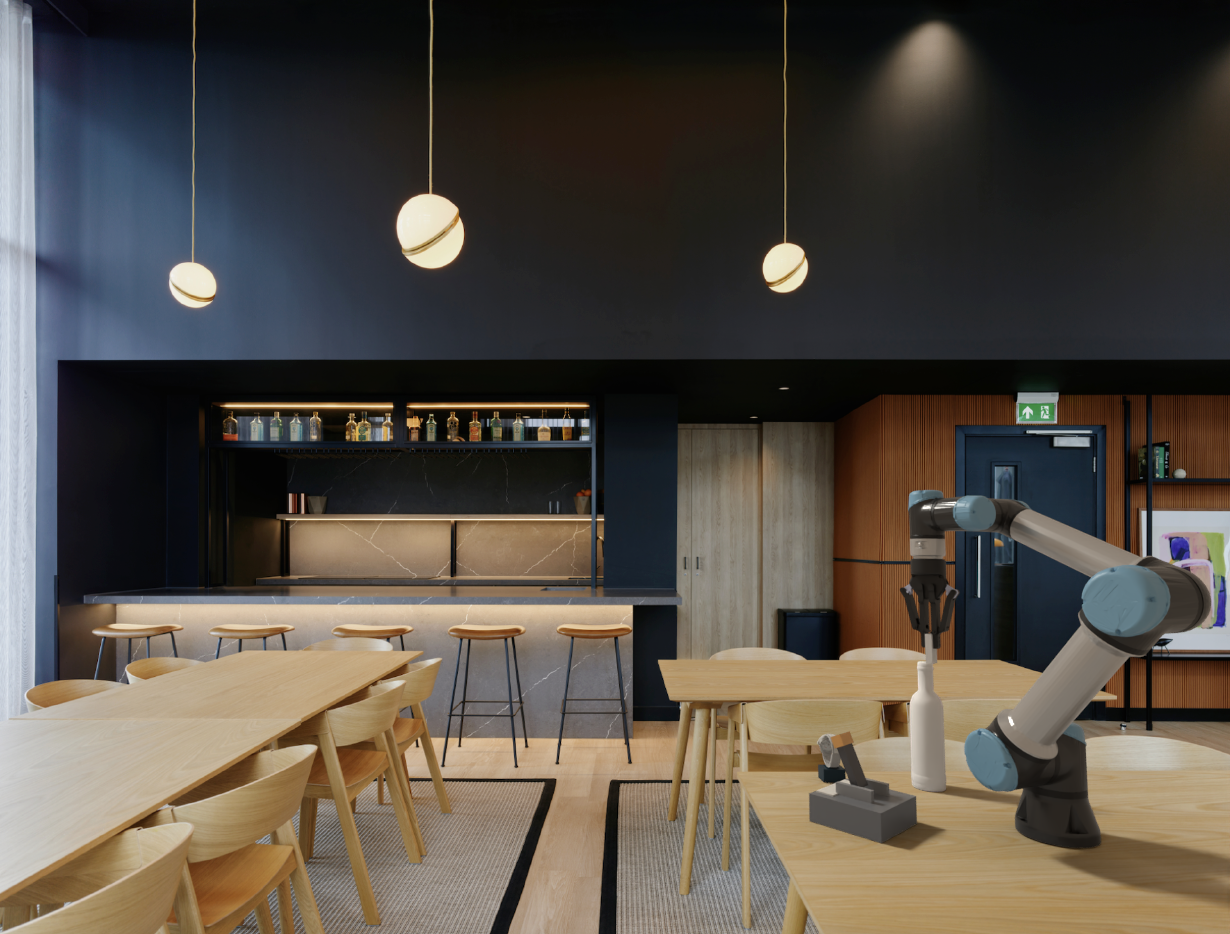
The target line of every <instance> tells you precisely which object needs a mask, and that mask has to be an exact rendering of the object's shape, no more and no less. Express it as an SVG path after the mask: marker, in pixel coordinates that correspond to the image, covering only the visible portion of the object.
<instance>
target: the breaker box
mask: <svg viewBox="0 0 1230 934" xmlns="http://www.w3.org/2000/svg"><path fill="white" fill-rule="evenodd" d="M865 778H866V780H867V783H868V785H867V786H865V787H859V786H855V785H851V784H850V782H849V779H848V778H846V779H844V780H842V781H838V782H836V783H832V784H829V785H826V786H824V787H822V788H819V789H817V790H815V791H814V790H813V791H811V792H810V793H808V803H809V806H808V807H809V809H808V810H809V811H808V812H809V818H808V819H809V822H811V823H815V824H818V825H820V826H825V827H827V828H828V827H829V828H831V829H835V830H837V831H840V832H844V833H847V834H851V835H854V836H857V837H859V838H860V837H861V838H863V839H866V840H869V841H873V842H875V843H876V842H877V843H879V844H883V843H885V842H886V841H888V840H890V839H893V837H896V836H897V835H899V834H901V833H902V832H904V831H906V830H908V829H910V828H912V827H913V826H915V825H917V824H918V813H917V812H918V811H917V795H913V794H910V793H906V792H902V791H897V790H894V789H890V783H887V782H884V781H880V780H876V779H873V778H872V779H871V778H868V777H865Z"/></svg>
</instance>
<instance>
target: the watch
mask: <svg viewBox="0 0 1230 934" xmlns="http://www.w3.org/2000/svg"><path fill="white" fill-rule="evenodd" d="M836 735H837V734H833V733H825V734H822V735H821V736H820V737H819V738H818V740H817V741H816V745H818V746H819V750H820V753H821V754H822V759H823V762H824V764H817V775H818V777H817V778H819V780H821V781H822V782H823V783H826V784H827V783H832V784H834V783H836V782H838V781H842V780H844V779H847V777H846V776H847V774H846V771H845V769H844V766H843V765H840V764H841V758H840V755H839V753H838V750H837V748H834V745H833V743H832V740H831V737H833V736H836Z"/></svg>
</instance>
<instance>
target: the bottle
mask: <svg viewBox="0 0 1230 934" xmlns="http://www.w3.org/2000/svg"><path fill="white" fill-rule="evenodd" d="M916 663H917V666H916V670H917V691H915V692H914V693H913V694H912V696H911V698H910V702H909V721H910V722H909V728H910V729H909V730H910V731H909V732H910V764H911V766H910V768H911V770H910V780H911V785H912V787H914V788H915V789H917V790H920V791H925V792H930V793H931V792H932V793H941V792H944V791H946V790H947V774H946V770H947V769H946V748H945V747H946V746H945V744H946V743H945V718H944V717H945V716H944V703H943V701H942V699H941V697H940V696H939V694H937V692H935V690H934V686H935V685H934V683H935V682H934V670H935V668H934V664H927V663H926V660H924V661H923V660H921V661H920V660H918V661H917V662H916Z"/></svg>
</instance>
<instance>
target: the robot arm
mask: <svg viewBox="0 0 1230 934" xmlns="http://www.w3.org/2000/svg"><path fill="white" fill-rule="evenodd" d="M908 495H909V496H908V507H907V510H908V523H909V525H908V526H909V553H910V554H909V555H910V556H911V557H912V558H911V560H910V580H909V584H908V583H907V585H906V586H904V587H903V586H902V587H900V588H899V592H900V593H901V595H902V597H903V599H904V601H905V607H906V610H907V612H908V613H907V614H908V618H909V621H910V625H911V628H912V630H914V631H915V630H916V631H918V632H919V633H920V645H921V648H924V649H925V650H924V651H925V655H924V656H925V661H926V663H927V664H933V665H934V664H935V665H936V664H938V650H939V649H941V647H942V643H941V642H942V641H941V639H942V638H941V634H942V633H945V632H949V630H950V626H951V622H952V617H953V613H954V607H955V603H956V600H957V598H958V596H959V595H960V593H961V592H960V590H959V589H957V588H956V589H955V588H954V587H952V586H951V585H950V582H949V581H948V579H947V561H946V559H944V557H946V556H947V553H946V532H981V533H982V532H985V533H998V534H1001V535H1003V536H1005V537H1007V538H1009V539H1012V540H1014V541H1016V542H1019V543H1020V544H1023V545H1025V547H1028V548H1030V549H1032V550H1034V551H1036V552H1039V553H1041V554H1042V555H1045V556H1047V557H1049V558H1050V559H1053V560H1055V561H1056V562H1058V563H1060V564H1063V565H1065V566H1068V567H1069V568H1071V569H1073V570H1075V571H1077V572H1079V573H1082V574H1083V575H1085V576H1088V577H1089V578H1090V579H1088V581H1087V582H1086V583H1085V585H1084V587H1083V590H1082V591H1081V592H1082V593H1081V600H1082V603H1083V604H1081V608H1080V610H1079V612H1078V613H1077V614H1078V615H1077V616H1078V619H1079V623H1080V626H1079V627H1078V628H1077V630H1076V631H1075V632H1074V633H1073V634H1072V636H1071V637H1070V638H1069V640H1067V642H1066V644H1065V645H1064V646H1063V647H1062V648H1061V649H1060V651H1059V652H1058V653H1057V655H1055V657H1054V659H1052V660H1051V662H1050V663H1049V665H1048V666H1047V667H1046V668H1045V670H1043V672H1042V673H1041V674H1040V676H1039V677H1038V678H1037V679H1036V680H1035V682H1034V683H1033V684H1032V686H1031V687H1030V688H1029V689H1028V691H1027V692H1026V693H1025V694H1024V696H1023V697H1022V698H1021V699H1020V700H1019V702H1018V703H1017V704H1016V705H1015V707H1014V708H1004V709H1002V710H1001V711H1000V712H999V713H998V714H997V715H996V716H995V717H994V719H992V721H991V723H990V724H989V725H988V726H987V727H985V728H981V727H979V728H978V729H975V730H972V731H971V732H970V733H968V735H967V737H966V738H965V741H964V746H963V751H964V755H965V758H966V760H965V761H966V764H967V767H968V769H969V771H970V772H971V774H972V776H973V777H974V778H975V779H976V781H977V782H978V783H979V784H980V785H981V786H984V788H986V789H988V790H990V791H993V792H998V793H999V792H1005V793H1006V792H1007V793H1008V792H1013V791H1017V790H1022V792H1021V795H1020V798H1019V801H1018V805H1017V808H1016V810H1015V814H1014V827H1015V830H1016V831H1017V832H1018V833H1020V834H1022V835H1023V836H1025V837H1027V838H1030V839H1033V840H1034V841H1037V842H1040V843H1044V844H1048V845H1053V846H1057V847H1064V848H1071V849H1072V848H1073V849H1090V848H1091V849H1092V848H1095V847H1098V846H1100V845H1101V843H1102V837H1101V835H1102V834H1101V833H1102V832H1101V829H1100V826H1099V824H1098V821H1097V819H1096V816H1095V813H1094V811H1093V808H1092V806H1091V803H1090V800H1089V799H1090V798H1089V787H1088V786H1089V784H1088V766H1087V741H1086V736H1085V735H1086V734H1085V730H1084V729H1083V727H1082V726H1081V725H1080V724H1078V723H1075V722H1074V721H1075V720H1076V718H1078V717H1079V715H1081V713H1082V712H1083V711H1084V709H1085V708H1086V707H1088V705H1089V704H1090V703H1091V701H1093V699H1094V698H1095V697H1096V696H1097V694H1099V692H1101V690H1102V689H1103V688H1104V686H1105V685H1107V683H1108V682H1109V681H1110V679H1111V678H1112V677H1113V676H1115V674H1116V673H1117V672H1118V670H1119V669H1120V668H1121V667H1122V666H1123V665H1124V664H1125V662H1127V660H1128V659H1129V658H1131V657H1132V658H1133V657H1134V658H1141V657H1144V656H1146V655H1147V654H1148V653H1149V652H1150V651H1151V650H1152V648H1153V647H1155V644H1157V642H1159V640H1160V639H1161V638H1162V637H1163V636H1164V635H1166V634H1168V635H1169V634H1170V635H1171V634H1179V633H1181V634H1182V633H1186V632H1190V631H1192V630H1195V629H1196V628H1197V627H1199V626H1201V625H1202V624H1203V623H1204V622H1206V619H1207V618H1208V617H1209V615H1210V613H1211V609H1212V596H1211V593H1210V591H1209V589H1208V586H1207V585H1206V584H1205V583H1204V581H1203V580H1202V579H1201V578H1200V577H1198V575H1196V574H1195V573H1193V572H1191V571H1190V570H1187V569H1185V568H1182V567H1180V566H1177V565H1175V564H1172V563H1170V562H1167V561H1165V560H1162V559H1159V558H1157V557H1155V556H1153V555H1147V556H1143V557H1141V556H1139V555H1137V554H1134V553H1132V552H1130V551H1127V550H1125V549H1122V547H1118V546H1116V545H1114V544H1112V543H1109V542H1106V541H1104V540H1103V539H1100V538H1097V537H1095V536H1093V535H1090V534H1088V533H1085V532H1083V531H1081V530H1079V529H1076V528H1074V527H1072V526H1069V525H1067V524H1065V523H1062V522H1061V521H1058V520H1056V519H1053V518H1051V517H1049V516H1047V515H1044V514H1042V513H1039V512H1037V511H1035V510H1033V509H1032V508H1031V507H1030V506H1029V505H1028V504H1027V503H1026V502H1024V501H1022V500H1016V499H1012V498H991V497H989V498H988V497H987V496H984V495H965V496H955V497H953V496H952V497H944V493H943V491H942V490H937V489H924V490H923V489H922V490H921V489H920V490H918V489H917V490H913V491H912V492H910V493H909V494H908ZM913 593H915V594H916V596H917V602H918V603H919V604H918V608H917V604H916V601H915V598H914V595H913ZM944 593H945V596H946V597H945V600H944V605H943V610H942V613H941V603H942V601H941V599H942V598H941V597H942V596H943V595H944ZM929 607H930V608H929Z"/></svg>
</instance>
